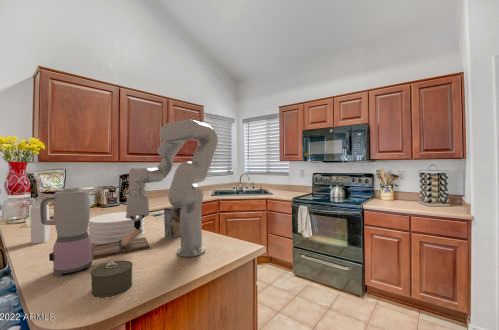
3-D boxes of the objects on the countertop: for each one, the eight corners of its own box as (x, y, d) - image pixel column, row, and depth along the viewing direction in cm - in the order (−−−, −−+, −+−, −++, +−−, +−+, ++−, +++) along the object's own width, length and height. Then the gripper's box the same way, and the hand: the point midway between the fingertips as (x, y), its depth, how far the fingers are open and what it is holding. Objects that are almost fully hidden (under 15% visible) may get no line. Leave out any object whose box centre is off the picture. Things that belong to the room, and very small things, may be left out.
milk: (36, 240, 130) (35, 200, 130) (49, 239, 132) (49, 200, 132) (30, 244, 125) (29, 202, 125) (45, 242, 127) (44, 201, 127)
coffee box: (177, 232, 141) (177, 205, 141) (184, 234, 137) (184, 207, 137) (164, 236, 134) (163, 208, 134) (170, 238, 130) (170, 209, 130)
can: (91, 303, 70) (91, 280, 70) (90, 286, 79) (89, 266, 79) (136, 290, 77) (135, 269, 77) (129, 276, 86) (129, 257, 86)
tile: (120, 247, 111) (122, 248, 111) (141, 230, 116) (142, 231, 116) (119, 241, 119) (121, 242, 120) (139, 225, 124) (140, 227, 124)
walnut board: (149, 248, 115) (149, 243, 115) (93, 259, 103) (93, 252, 103) (145, 239, 128) (145, 235, 128) (94, 248, 116) (94, 242, 116)
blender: (89, 260, 101) (88, 186, 101) (95, 268, 93) (94, 187, 93) (40, 272, 90) (38, 189, 90) (42, 283, 82) (41, 191, 82)
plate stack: (101, 248, 117) (101, 225, 117) (80, 238, 134) (80, 218, 134) (153, 234, 139) (153, 215, 139) (130, 227, 156) (130, 210, 156)
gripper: (121, 194, 112) (121, 232, 112) (154, 192, 120) (154, 228, 120) (120, 192, 118) (120, 229, 119) (151, 190, 126) (151, 224, 127)
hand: (137, 228), depth 119 cm, fingers closed
